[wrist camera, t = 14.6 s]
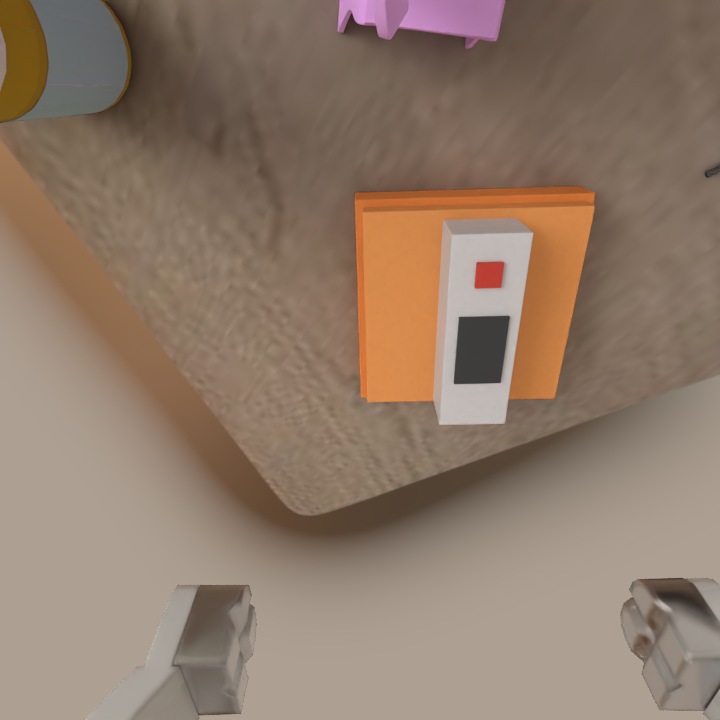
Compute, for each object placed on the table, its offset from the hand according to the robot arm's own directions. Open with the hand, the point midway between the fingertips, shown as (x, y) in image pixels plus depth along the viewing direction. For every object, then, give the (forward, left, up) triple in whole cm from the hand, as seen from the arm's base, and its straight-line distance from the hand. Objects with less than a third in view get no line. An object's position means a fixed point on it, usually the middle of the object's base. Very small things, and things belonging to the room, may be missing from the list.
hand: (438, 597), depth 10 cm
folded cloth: (+5, +6, -29) cm, 30 cm away
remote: (+5, +6, -25) cm, 26 cm away
